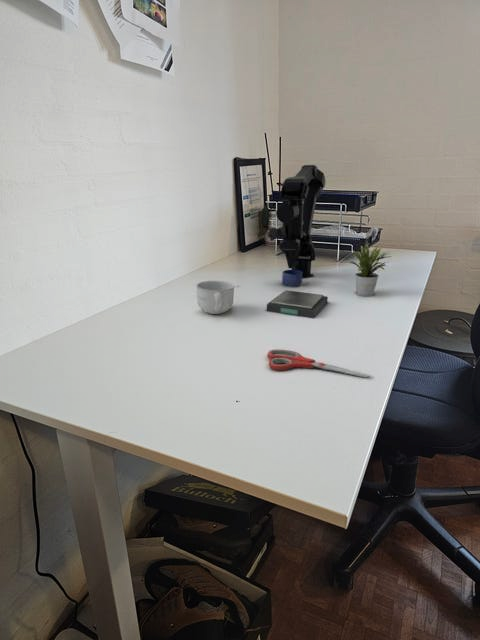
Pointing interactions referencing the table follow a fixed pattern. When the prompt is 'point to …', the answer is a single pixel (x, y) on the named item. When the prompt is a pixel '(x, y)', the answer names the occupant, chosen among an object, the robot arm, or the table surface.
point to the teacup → (215, 296)
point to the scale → (297, 308)
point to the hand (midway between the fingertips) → (292, 265)
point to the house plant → (367, 270)
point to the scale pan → (298, 299)
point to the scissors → (302, 362)
